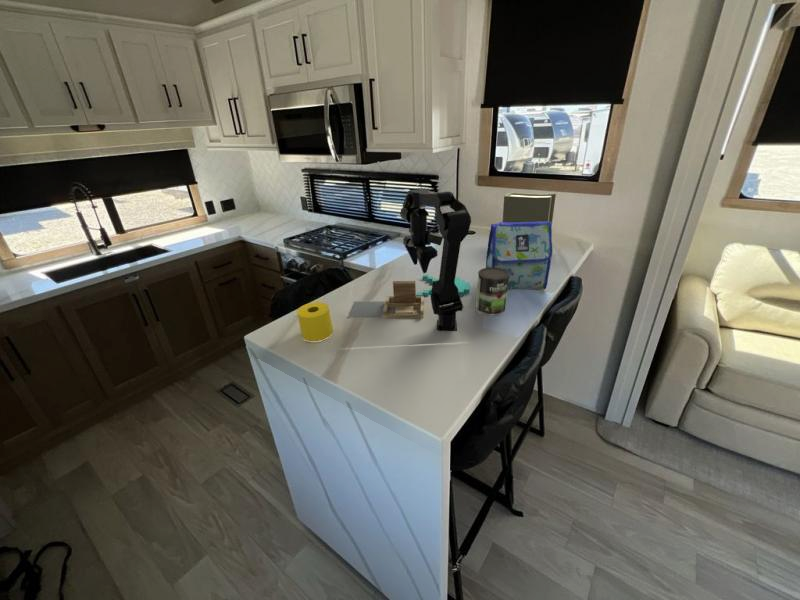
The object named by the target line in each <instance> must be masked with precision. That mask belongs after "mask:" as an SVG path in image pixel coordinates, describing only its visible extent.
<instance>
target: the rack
mask: <svg viewBox="0 0 800 600" xmlns="http://www.w3.org/2000/svg"><path fill="white" fill-rule="evenodd" d="M406 306H413V309H419V310H420V311H419V312H420V313H414V314H394V313H389V309H396V307H406ZM424 310H425V296H416V303H394V295H393V296H391V295H390V296H386V299H385V303H384V307H383V311H382V316H383V318H385V319H386V318H387V319H388V318H391V319H392V318H401V319H402V318H405V319H407V318H409V319H410V318H415V319H417V318H418V319H419V318H421V319H422V318H424V314H425V311H424Z"/></svg>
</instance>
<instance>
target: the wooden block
mask: <svg viewBox="0 0 800 600" xmlns="http://www.w3.org/2000/svg"><path fill="white" fill-rule="evenodd" d="M392 288H393V289H392V291H393V292H392V293H393V296H394V303H416V294H417V291H416V280H396V281H395V280H393V281H392Z"/></svg>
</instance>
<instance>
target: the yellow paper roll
mask: <svg viewBox="0 0 800 600" xmlns="http://www.w3.org/2000/svg"><path fill="white" fill-rule="evenodd" d="M330 312H331V311H330V306H329V305H328V304H327V303H324V302H320V301H313V302H308V303H306V304H304V305H301V306H300V307H299V308H298V309H297V311H296V313H297V317H298V324H299V327H300V332H301V337H303V338H304V339H305V340H308V341H319V340H323V339H325V338H327V337H329V336H330V335H331V334H332V332H333V333H334V331H333V326H332V324H333V323H332V319H331V313H330ZM332 335H333V334H332ZM303 338H302V339H303ZM304 339H303V340H304ZM305 340H304V341H305Z"/></svg>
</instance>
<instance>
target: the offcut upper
mask: <svg viewBox="0 0 800 600" xmlns="http://www.w3.org/2000/svg"><path fill="white" fill-rule="evenodd" d="M394 313H395V314H415V313H414V308H413V306H406V307H396V308H395V310H394Z"/></svg>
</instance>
